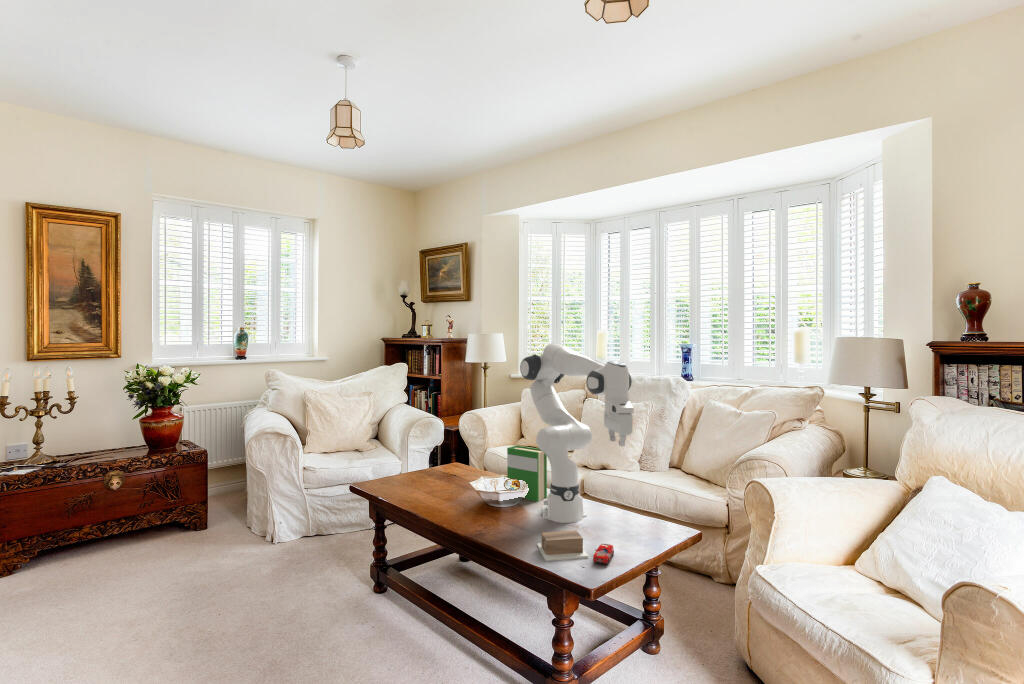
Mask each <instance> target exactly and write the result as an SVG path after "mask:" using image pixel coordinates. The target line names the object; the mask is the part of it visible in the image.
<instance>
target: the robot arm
mask: <svg viewBox="0 0 1024 684" xmlns="http://www.w3.org/2000/svg"><path fill="white" fill-rule="evenodd" d="M519 370H520V374H521V377H523V379H525V380H528V381H533V382H532V383H531V384H530V387H529V390H530V394H531V398H532V402H533V404H534V406H535V408H536V411H537V412H538V414H539V415H538V416H539V417H540V420H541V421H542V422H543V423H545V424H546V425H549V426H546V427H543V428H540V429H539V430H538V432H537V434H536V436H535V437H536V445H537V447H538V449H540V450H541V451H543V452H544V453H545V454H546V455H547V458H548V459H547V460H548V461H549V464H550V471H551V483H550V487H549V488H550V489H549V494H547V498H546V499H545V498H544V499H543V505H542V507H541V511H542V513H541V514H542V519H544V520H548V521H549V520H550V521H552V522H556V523H561V524H562V523H563V524H570V523H571V524H572V523H577V522H579V521H582V520H583V519H584V518H587V515H588V514H587V513H586V512H584V500H583V496H582V495H580V484H579V467H578V465H577V464H576V462H575V461H574V460H571V459H570V458H569V454H568V452H571V451H576V450H577V451H579V450H581V449H584V448H587V447H589V446H590V444H591V443H592V441H593V434H592V430H591V429H590V427H589V426H588V425H587V424H585V423H582V422H580V421H579V420H577V418H575V417H573V415H572V414H570V413H569V411H568V410H567V409H566V408H565V406H564V403H562V401H561V399H560V396H559V395H558V393H557V391H556V389H555V385H554V384H558V383H560V381H561V380H562V379H563V378H564V377H565V376H569V377H572V376H573V377H574V376H575V377H576V376H578V377H579V376H583V377H584V376H585V377H586V376H587V377H586V380H585V381H586V387H587V390H588V392H590V393H591V394H592V395H596V396H602V395H604V413H603V426H604V428H606V429H607V430H608V431H607V432H608V434H609V441H611V442H616V440H617V439H616V438H617V437H616V434H615V433H617V434H619V440H618V446H620V447H625V446H626V439H627V436H631V435H632V433H633V425H634V424H633V421H634V419H633V418H634V416H633V414H634V412H635V409H634V406H633V405H632V403H631V402H630V395H629V391H630V389H631V387H632V383H633V380H632V376H631V375H630V373H629V368H628V365H627V364H626V363H624V362H621V361H616V360H609V361H607V362H606V363H605V364H604V363H602V362H600V361H598V360H595V359H593V358H590V357H588V356H587V355H584V354H583V353H579V352H578V351H576V350H575V349H572V348H570V347H568V346H566V345H564V344H561V343H560V344H559V343H555V342H551V343H549V344H547V345H546V346H545V347H544V348H543V351H542V354H540V355H538V354H531V355H529V356H526V357H524V358H523V359H522V361H521V362H520V365H519Z"/></svg>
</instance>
